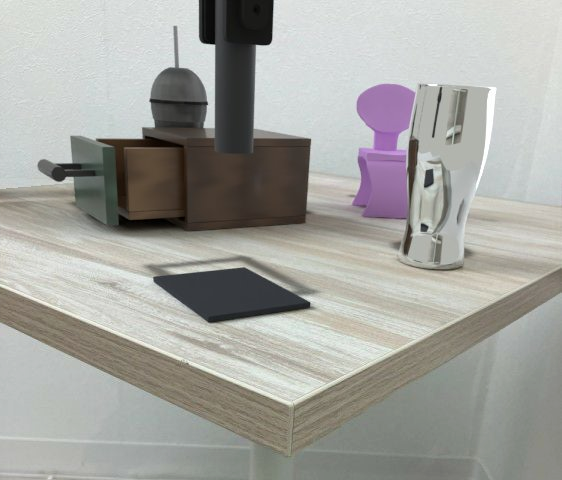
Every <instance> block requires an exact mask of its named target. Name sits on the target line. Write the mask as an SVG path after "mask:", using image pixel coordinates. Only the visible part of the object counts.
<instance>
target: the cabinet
mask: <svg viewBox="0 0 562 480" xmlns="http://www.w3.org/2000/svg"><path fill="white" fill-rule="evenodd" d="M141 135H142V138H141V139H161V140H165V141H168V142H172V143H176V144H180V145H184V192H185V217H174V218H162V219H164V220H166V221H167V222H169V223H171V224H173V225H175V226H177V227H179V228H180V229H183V230H184V231H187V232H194V231H208V230H209V231H210V230H222V229H223V230H224V229H225V230H226V229H238V228H252V227H265V226H281V225H295V224H296V225H297V224H306V222H307V208H308V207H307V206H308V193H309V179H310V177H309V176H310V161H311V146H312V138H310V137H304V136H299V135H294V134H287V133H281V132H275V131H270V130H264V129H259V128H254V136H253V153H251V154H227V153H219V152H215V127H204V128H167V127H155V126H142V127H141Z"/></svg>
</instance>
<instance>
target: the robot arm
mask: <svg viewBox="0 0 562 480" xmlns="http://www.w3.org/2000/svg"><path fill="white" fill-rule="evenodd" d="M274 5H275V0H223V39H224V40H225V41H226V42H228V43H237V44H249V45H256V46H263V47H264V46H269V45H271V44H272V42H273V37H274V36H273V35H274V34H273V33H274V10H275V9H274V8H275V7H274ZM198 40H199V42H200V43H201V44H204V45H211V46H215V0H198Z"/></svg>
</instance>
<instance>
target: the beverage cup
mask: <svg viewBox="0 0 562 480" xmlns="http://www.w3.org/2000/svg"><path fill="white" fill-rule="evenodd" d="M172 28H173V29H172V31H173V52H174V53H173V54H174V58H173V59H174V67H173V66H171V67H170V66H169V67H166V68H164V69H163V70H162V71H161V72H160V73H158V75H157V76H156V77H155V78H154V81H153V83H152V85H151V88H150V98H149V101H148V102H149V103H150V110H151V115H152V119H153V122H154V127H167V128H205V127H204V126H205V122H206V118H207V112H208V106H209V102H208V96H207V90H206V88H205V85H204V83H203V82H202V80H201V78H200V77H199V76H198V74H196V72H194V71H193V70H191V69H189V68H187V67H180V59H179V56H180V55H179V35H178V25H173V26H172Z"/></svg>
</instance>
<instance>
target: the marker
mask: <svg viewBox="0 0 562 480" xmlns="http://www.w3.org/2000/svg"><path fill="white" fill-rule="evenodd" d="M256 59H257V45H249V44H237V43H228V42H226V41H225V40H224V39H223V0H215V45H214V128H215V152H219V153H227V154H251V153H253V136H254V129H255V125H254V124H255V100H256V99H255V98H256V97H255V96H256V65H257V63H256V61H257V60H256Z"/></svg>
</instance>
